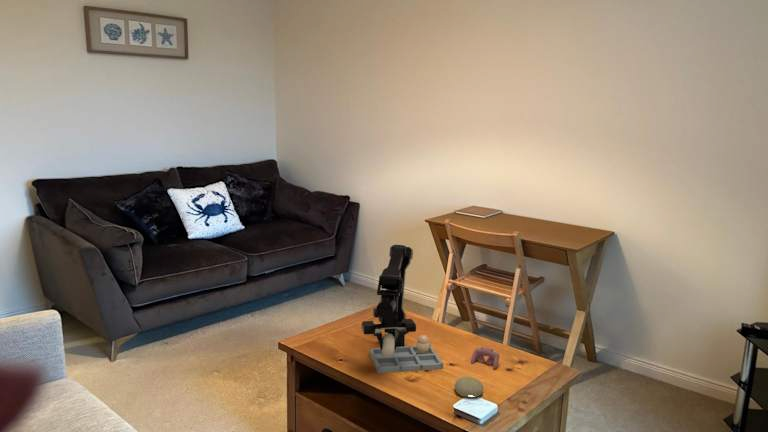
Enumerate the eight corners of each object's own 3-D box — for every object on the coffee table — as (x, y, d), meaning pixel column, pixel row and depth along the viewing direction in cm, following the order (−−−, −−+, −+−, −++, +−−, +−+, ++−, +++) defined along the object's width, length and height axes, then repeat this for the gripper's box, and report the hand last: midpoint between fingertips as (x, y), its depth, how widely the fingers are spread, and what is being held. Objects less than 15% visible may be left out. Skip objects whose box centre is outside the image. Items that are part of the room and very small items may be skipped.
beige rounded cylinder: (426, 351, 224) (427, 332, 223) (430, 357, 220) (431, 337, 218) (414, 352, 223) (415, 333, 222) (418, 357, 219) (419, 338, 217)
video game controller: (498, 370, 216) (501, 351, 217) (496, 369, 212) (499, 350, 213) (472, 364, 220) (475, 345, 221) (469, 363, 215) (472, 344, 217)
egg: (392, 351, 213) (393, 330, 211) (395, 356, 208) (396, 336, 207) (380, 351, 212) (380, 331, 210) (382, 357, 208) (383, 336, 206)
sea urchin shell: (478, 397, 189) (463, 376, 191) (461, 408, 193) (447, 387, 195) (489, 386, 197) (475, 366, 198) (473, 396, 201) (459, 376, 202)
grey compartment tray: (430, 350, 227) (430, 344, 226) (443, 369, 211) (443, 363, 211) (369, 354, 222) (369, 348, 221) (377, 374, 206) (378, 368, 206)
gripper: (409, 298, 216) (407, 338, 219) (359, 300, 212) (358, 341, 216) (417, 309, 206) (415, 351, 209) (364, 312, 202) (363, 354, 205)
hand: (388, 348), depth 210 cm, fingers closed on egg, 5 cm apart
